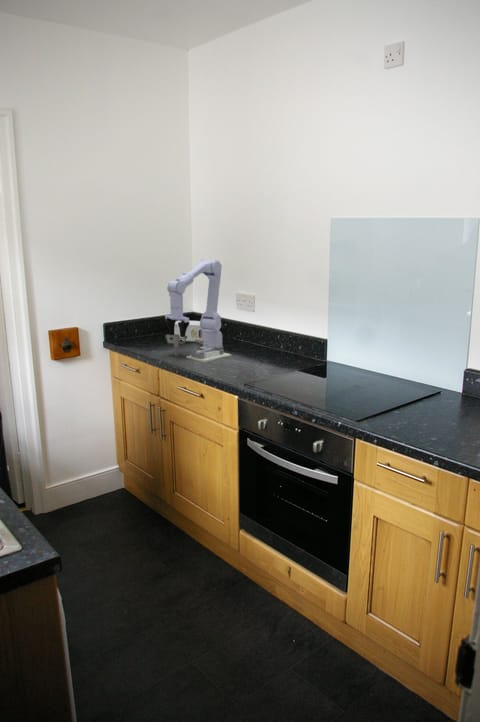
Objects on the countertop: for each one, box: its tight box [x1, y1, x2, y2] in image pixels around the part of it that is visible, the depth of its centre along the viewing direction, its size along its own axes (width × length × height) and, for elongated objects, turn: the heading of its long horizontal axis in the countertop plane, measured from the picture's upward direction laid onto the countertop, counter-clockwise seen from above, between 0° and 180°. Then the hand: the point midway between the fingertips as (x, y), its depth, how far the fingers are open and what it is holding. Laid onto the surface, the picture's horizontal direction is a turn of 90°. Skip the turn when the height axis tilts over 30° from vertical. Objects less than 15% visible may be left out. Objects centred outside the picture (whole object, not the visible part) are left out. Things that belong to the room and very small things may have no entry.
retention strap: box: [194, 340, 223, 349], centre depth 274 cm, size 14×4×1 cm, turn 138°
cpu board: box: [186, 348, 232, 363], centre depth 275 cm, size 18×12×4 cm, turn 138°
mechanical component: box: [164, 333, 187, 357], centre depth 276 cm, size 3×10×10 cm, turn 89°
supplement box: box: [174, 320, 203, 342], centre depth 318 cm, size 17×13×9 cm
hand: (177, 335), depth 273 cm, fingers open, 7 cm apart
